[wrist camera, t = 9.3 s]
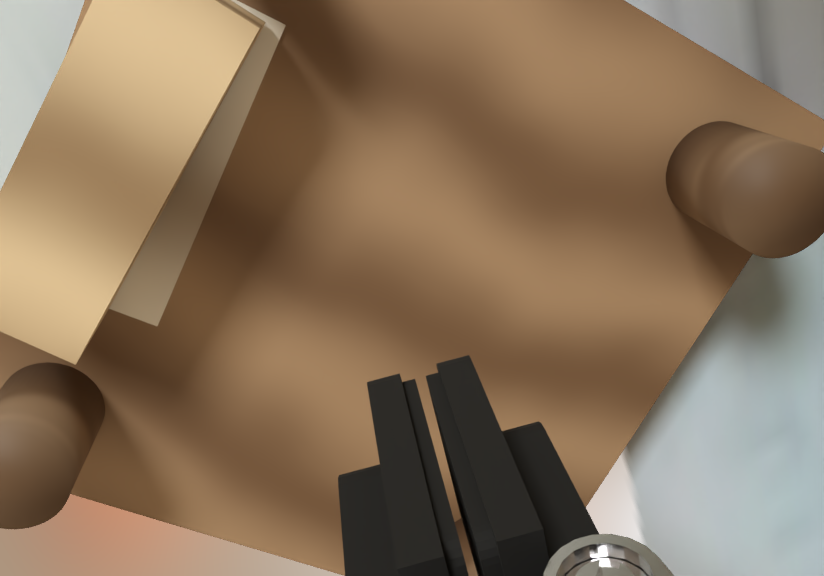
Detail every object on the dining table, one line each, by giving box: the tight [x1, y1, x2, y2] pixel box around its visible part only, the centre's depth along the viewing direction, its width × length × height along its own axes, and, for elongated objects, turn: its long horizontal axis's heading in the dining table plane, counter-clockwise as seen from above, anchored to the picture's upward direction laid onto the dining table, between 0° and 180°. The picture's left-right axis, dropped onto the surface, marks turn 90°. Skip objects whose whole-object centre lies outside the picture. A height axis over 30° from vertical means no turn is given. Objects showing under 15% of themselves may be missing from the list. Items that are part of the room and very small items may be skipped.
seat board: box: [0, 0, 824, 576], centre depth 23 cm, size 22×22×6 cm
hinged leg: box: [0, 0, 266, 365], centre depth 20 cm, size 10×3×3 cm, turn 148°
